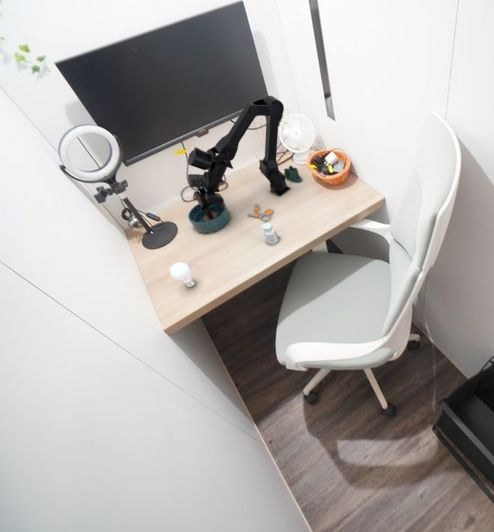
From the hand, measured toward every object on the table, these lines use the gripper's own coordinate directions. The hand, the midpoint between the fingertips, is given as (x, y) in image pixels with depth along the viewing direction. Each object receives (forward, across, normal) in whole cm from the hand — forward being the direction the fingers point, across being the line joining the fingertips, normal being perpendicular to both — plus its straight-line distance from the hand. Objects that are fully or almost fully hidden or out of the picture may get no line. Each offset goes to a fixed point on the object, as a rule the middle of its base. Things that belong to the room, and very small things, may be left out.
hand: (201, 208), depth 129 cm
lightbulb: (+17, +29, -6) cm, 34 cm away
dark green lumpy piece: (-25, -4, +36) cm, 44 cm away
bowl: (+5, 0, +7) cm, 8 cm away
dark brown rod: (+4, 0, +6) cm, 8 cm away
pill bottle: (-6, +28, +18) cm, 34 cm away
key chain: (-8, +9, +20) cm, 23 cm away
